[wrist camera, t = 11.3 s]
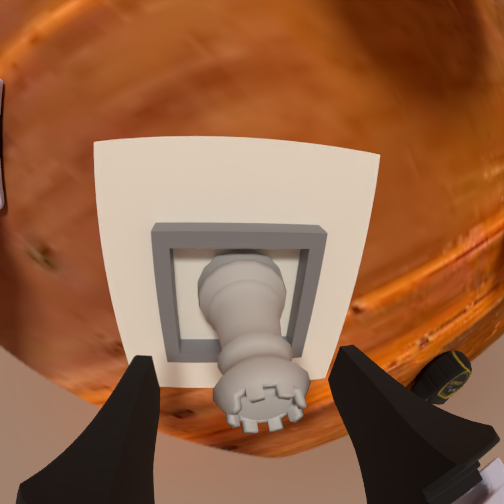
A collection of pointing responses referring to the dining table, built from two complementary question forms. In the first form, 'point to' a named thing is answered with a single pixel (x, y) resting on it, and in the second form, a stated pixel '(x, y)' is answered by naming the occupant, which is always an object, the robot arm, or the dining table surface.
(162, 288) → the jig board
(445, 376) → the tape measure
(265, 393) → the rook chess piece
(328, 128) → the dining table surface
